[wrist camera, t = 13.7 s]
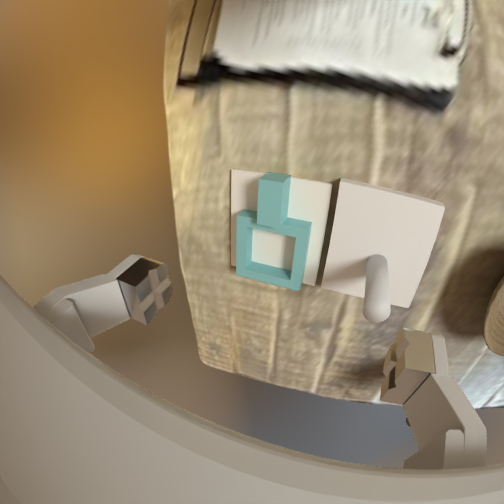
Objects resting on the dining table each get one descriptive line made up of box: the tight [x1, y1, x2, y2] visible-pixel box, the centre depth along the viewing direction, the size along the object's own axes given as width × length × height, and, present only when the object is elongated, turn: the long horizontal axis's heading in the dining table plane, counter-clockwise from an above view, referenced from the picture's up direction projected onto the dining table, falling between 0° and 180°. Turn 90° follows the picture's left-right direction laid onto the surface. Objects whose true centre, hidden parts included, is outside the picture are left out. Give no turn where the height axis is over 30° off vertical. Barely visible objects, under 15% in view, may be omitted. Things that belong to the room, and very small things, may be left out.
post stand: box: [321, 178, 445, 322], centre depth 30 cm, size 16×14×12 cm
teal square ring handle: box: [236, 172, 312, 291], centre depth 38 cm, size 16×10×4 cm, turn 177°
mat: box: [231, 169, 333, 286], centre depth 40 cm, size 16×14×1 cm
